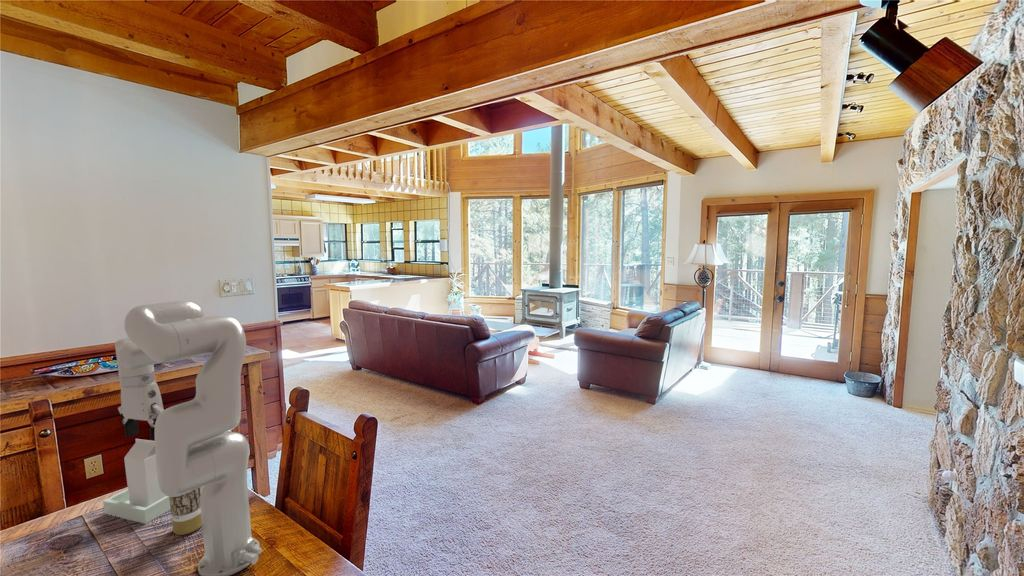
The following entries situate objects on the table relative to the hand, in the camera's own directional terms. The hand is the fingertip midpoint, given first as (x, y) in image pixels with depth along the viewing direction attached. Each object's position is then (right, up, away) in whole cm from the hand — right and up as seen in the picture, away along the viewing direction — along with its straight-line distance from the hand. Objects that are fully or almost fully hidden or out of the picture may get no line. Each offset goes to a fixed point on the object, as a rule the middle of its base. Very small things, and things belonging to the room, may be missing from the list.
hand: (145, 437), depth 123 cm
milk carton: (0, -20, +3) cm, 20 cm away
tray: (-1, -21, +3) cm, 21 cm away
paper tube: (+18, -22, -7) cm, 30 cm away
